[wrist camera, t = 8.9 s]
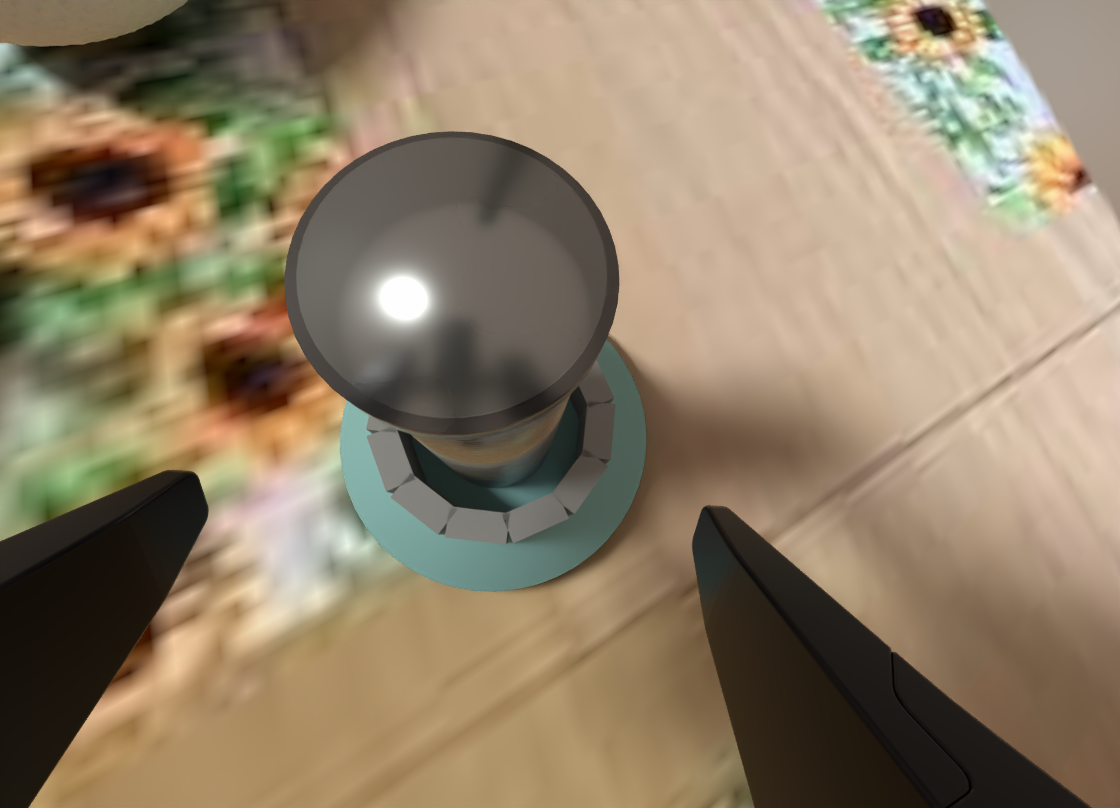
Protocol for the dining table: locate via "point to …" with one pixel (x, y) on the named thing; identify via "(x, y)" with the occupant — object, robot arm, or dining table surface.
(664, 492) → the dining table surface
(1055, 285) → the dining table surface
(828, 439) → the dining table surface
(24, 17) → the cereal bowl
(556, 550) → the collar
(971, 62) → the dining table surface
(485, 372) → the gray tube
